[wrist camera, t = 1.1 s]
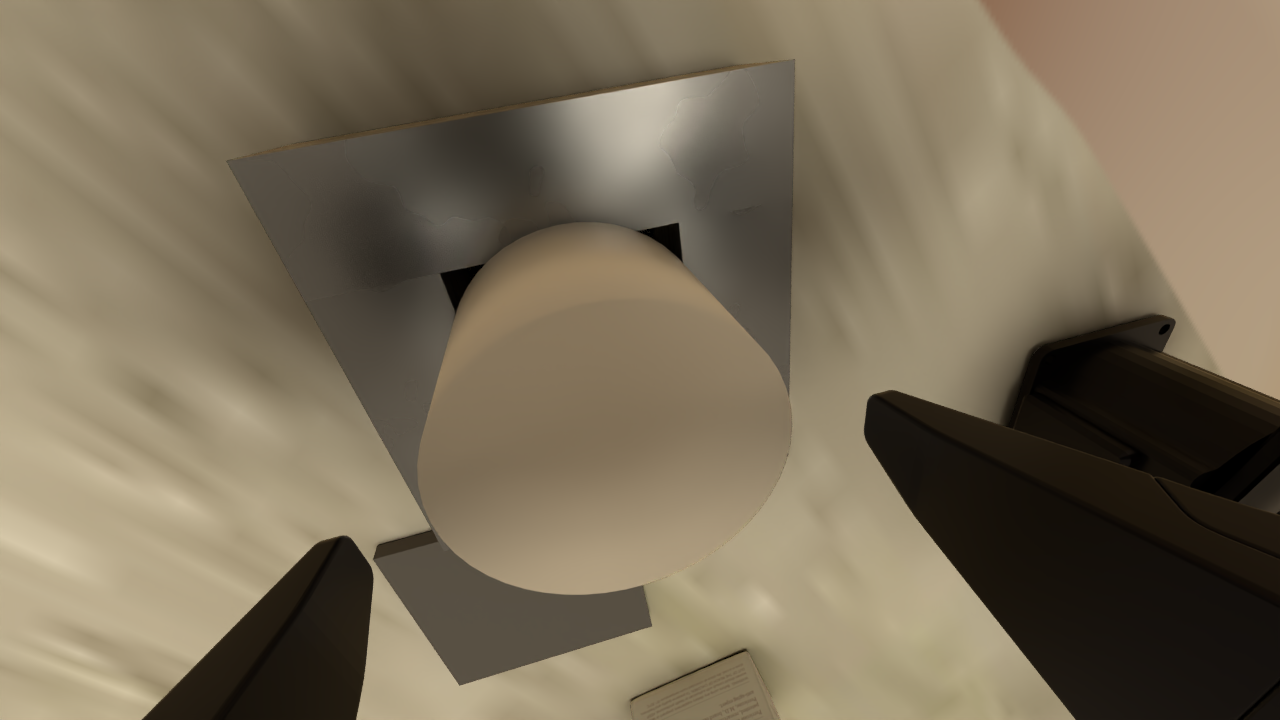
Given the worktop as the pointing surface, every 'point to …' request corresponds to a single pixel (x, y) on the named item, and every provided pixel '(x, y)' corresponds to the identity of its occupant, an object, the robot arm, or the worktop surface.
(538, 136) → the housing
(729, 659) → the supplement box
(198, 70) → the worktop surface
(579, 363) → the end cover
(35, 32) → the worktop surface
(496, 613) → the rubber mat
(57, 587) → the worktop surface
